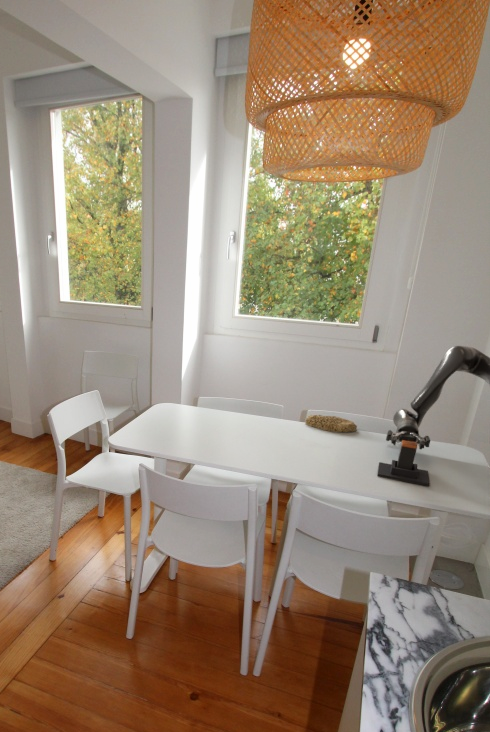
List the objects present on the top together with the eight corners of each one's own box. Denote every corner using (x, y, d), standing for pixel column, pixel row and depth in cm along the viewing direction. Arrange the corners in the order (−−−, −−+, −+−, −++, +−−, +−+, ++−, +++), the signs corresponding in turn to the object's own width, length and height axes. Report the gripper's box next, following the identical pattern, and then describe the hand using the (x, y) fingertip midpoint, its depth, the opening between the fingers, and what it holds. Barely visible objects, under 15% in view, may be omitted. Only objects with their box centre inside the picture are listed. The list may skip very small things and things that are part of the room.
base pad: (427, 473, 168) (429, 464, 167) (428, 486, 158) (431, 476, 157) (378, 464, 175) (380, 455, 173) (377, 476, 165) (379, 467, 163)
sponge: (303, 432, 210) (348, 436, 196) (303, 414, 209) (349, 417, 195) (315, 429, 219) (359, 433, 206) (316, 413, 218) (360, 415, 205)
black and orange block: (410, 471, 167) (417, 442, 163) (410, 475, 163) (417, 446, 159) (395, 468, 169) (402, 440, 165) (395, 473, 165) (402, 444, 161)
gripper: (389, 419, 184) (388, 431, 170) (430, 425, 178) (432, 438, 164) (385, 437, 186) (384, 450, 173) (426, 443, 181) (427, 458, 167)
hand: (407, 444), depth 169 cm, fingers open, 8 cm apart
